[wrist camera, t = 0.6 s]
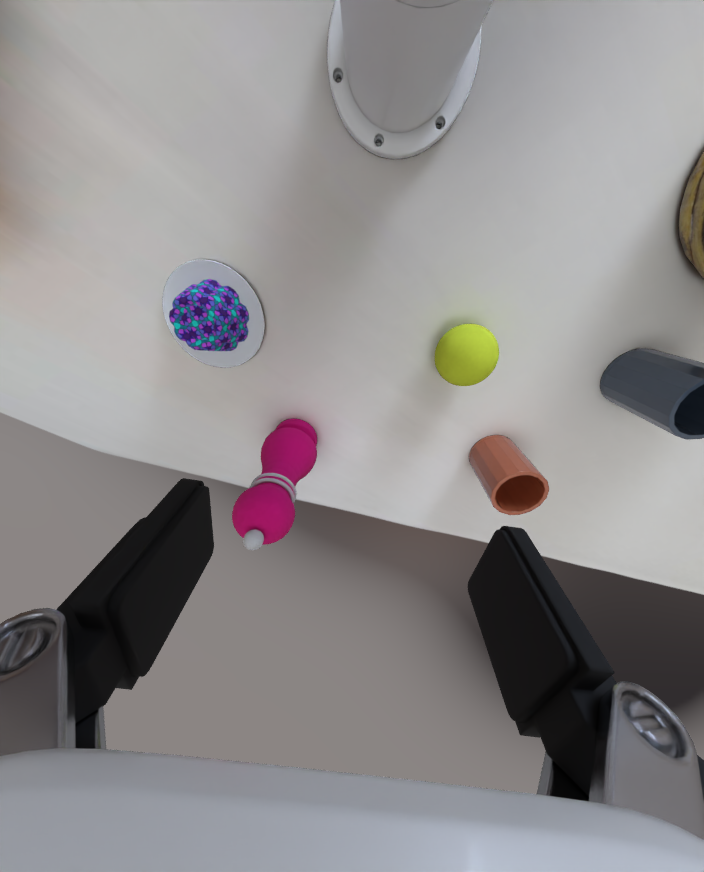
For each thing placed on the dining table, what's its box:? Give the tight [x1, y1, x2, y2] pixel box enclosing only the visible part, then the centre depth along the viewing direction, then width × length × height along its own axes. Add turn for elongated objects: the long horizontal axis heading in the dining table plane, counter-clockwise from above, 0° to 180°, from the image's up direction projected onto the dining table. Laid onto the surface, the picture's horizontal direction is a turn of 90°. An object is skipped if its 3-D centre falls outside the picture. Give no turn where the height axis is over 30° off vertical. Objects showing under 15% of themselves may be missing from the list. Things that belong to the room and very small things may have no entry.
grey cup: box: [600, 348, 704, 439], centre depth 33 cm, size 7×7×10 cm
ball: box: [435, 324, 499, 386], centre depth 34 cm, size 7×7×7 cm
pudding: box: [162, 259, 264, 368], centre depth 34 cm, size 12×12×5 cm
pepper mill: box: [232, 419, 317, 550], centre depth 35 cm, size 7×7×20 cm
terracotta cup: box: [469, 435, 549, 515], centre depth 40 cm, size 7×7×9 cm
